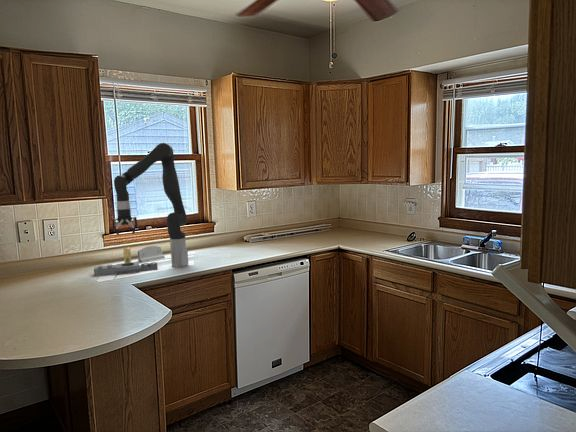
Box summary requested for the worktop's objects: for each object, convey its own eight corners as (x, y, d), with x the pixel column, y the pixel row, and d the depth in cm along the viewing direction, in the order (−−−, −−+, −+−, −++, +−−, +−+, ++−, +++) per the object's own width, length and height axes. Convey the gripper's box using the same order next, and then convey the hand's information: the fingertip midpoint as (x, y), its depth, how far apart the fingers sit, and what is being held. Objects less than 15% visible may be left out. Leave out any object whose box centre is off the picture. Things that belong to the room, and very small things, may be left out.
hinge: (141, 262, 280) (137, 247, 281) (138, 264, 283) (135, 249, 285) (165, 258, 291) (161, 243, 292) (162, 259, 295) (159, 245, 296)
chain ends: (157, 266, 269) (156, 258, 268) (158, 269, 259) (157, 261, 258) (95, 272, 257) (94, 264, 256) (94, 277, 247) (93, 268, 247)
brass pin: (133, 266, 270) (131, 247, 268) (128, 268, 266) (126, 248, 264) (128, 266, 271) (126, 247, 270) (123, 267, 268) (121, 248, 266)
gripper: (136, 206, 270) (137, 232, 272) (111, 208, 265) (113, 234, 267) (136, 208, 263) (138, 234, 265) (110, 209, 258) (113, 236, 260)
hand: (125, 234), depth 266 cm, fingers open, 8 cm apart
